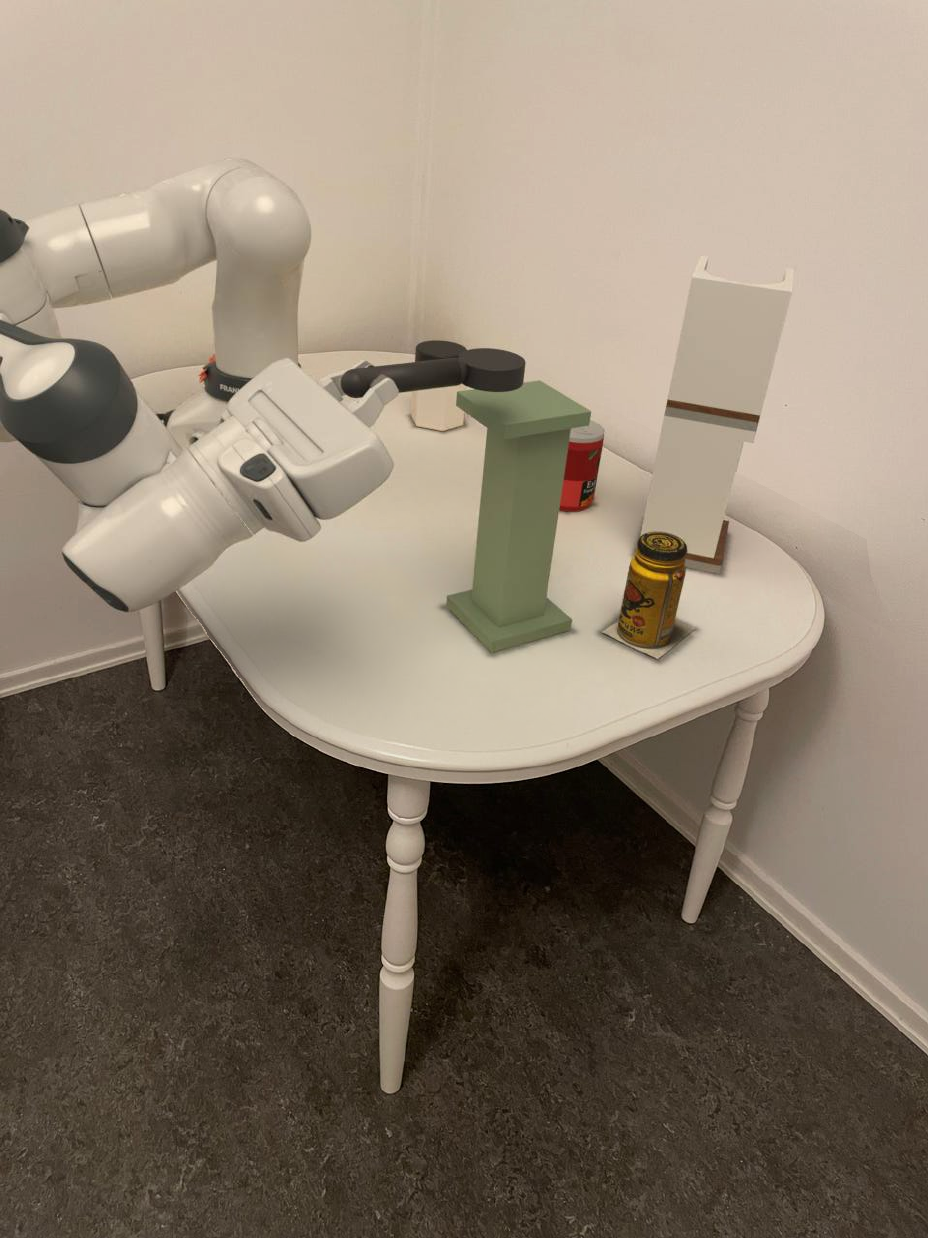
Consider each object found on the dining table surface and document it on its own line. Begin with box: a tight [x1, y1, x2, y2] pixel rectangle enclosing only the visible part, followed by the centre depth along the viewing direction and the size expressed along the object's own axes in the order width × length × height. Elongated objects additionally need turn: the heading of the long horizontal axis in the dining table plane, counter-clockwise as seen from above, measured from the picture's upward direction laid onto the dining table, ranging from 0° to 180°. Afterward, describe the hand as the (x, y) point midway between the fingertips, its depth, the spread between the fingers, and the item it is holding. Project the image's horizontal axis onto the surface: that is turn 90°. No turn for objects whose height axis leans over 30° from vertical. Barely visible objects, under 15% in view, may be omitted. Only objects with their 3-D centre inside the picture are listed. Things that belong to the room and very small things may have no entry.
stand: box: [445, 380, 592, 654], centre depth 102 cm, size 12×10×26 cm
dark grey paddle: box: [341, 347, 527, 399], centre depth 84 cm, size 18×6×2 cm, turn 120°
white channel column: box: [639, 255, 795, 575], centre depth 117 cm, size 11×11×35 cm
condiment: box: [601, 531, 696, 660], centre depth 106 cm, size 7×8×12 cm
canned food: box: [559, 419, 606, 513], centre depth 133 cm, size 8×8×11 cm
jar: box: [410, 339, 468, 432], centre depth 153 cm, size 9×8×12 cm
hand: (382, 375), depth 81 cm, fingers closed on dark grey paddle, 2 cm apart
